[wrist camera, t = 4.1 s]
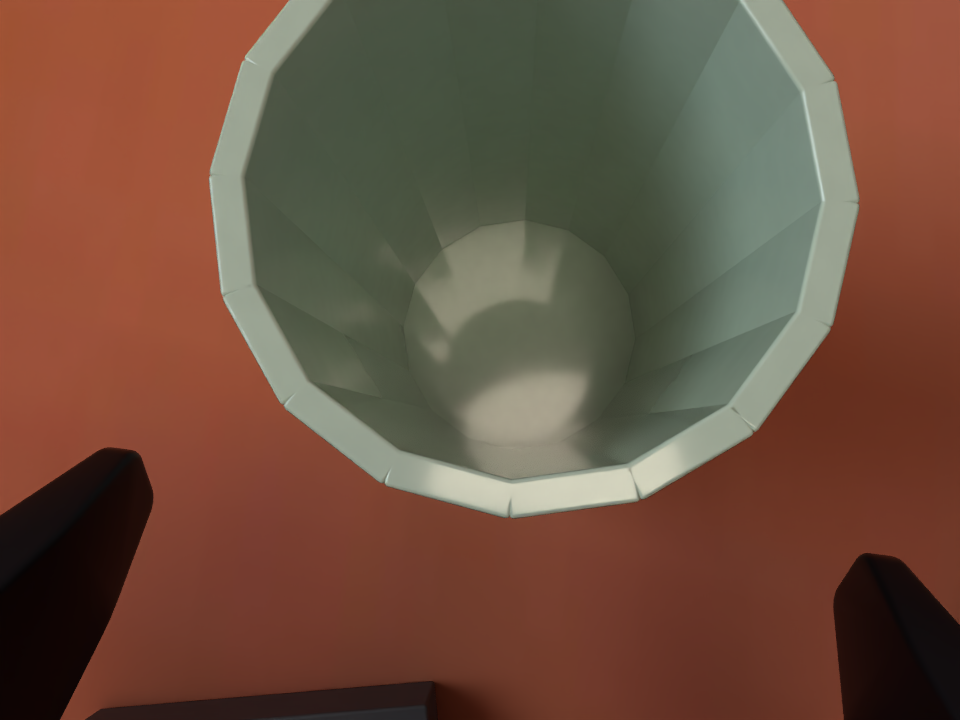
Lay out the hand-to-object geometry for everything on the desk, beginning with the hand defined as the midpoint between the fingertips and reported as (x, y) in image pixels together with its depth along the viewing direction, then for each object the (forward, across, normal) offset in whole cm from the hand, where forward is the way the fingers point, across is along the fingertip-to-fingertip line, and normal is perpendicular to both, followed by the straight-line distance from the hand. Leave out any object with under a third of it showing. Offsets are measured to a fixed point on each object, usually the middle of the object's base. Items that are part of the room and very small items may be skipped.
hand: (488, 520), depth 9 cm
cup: (+10, 0, +5) cm, 11 cm away
